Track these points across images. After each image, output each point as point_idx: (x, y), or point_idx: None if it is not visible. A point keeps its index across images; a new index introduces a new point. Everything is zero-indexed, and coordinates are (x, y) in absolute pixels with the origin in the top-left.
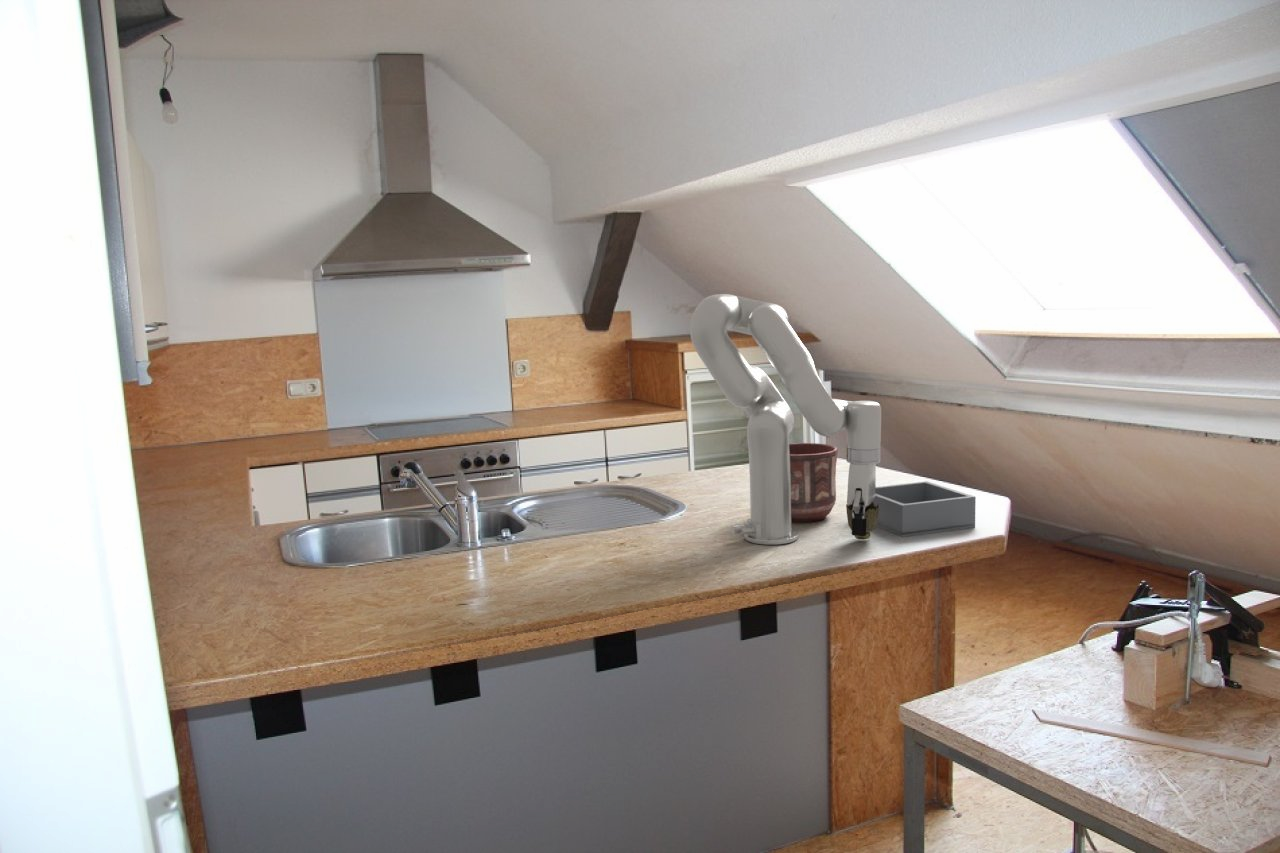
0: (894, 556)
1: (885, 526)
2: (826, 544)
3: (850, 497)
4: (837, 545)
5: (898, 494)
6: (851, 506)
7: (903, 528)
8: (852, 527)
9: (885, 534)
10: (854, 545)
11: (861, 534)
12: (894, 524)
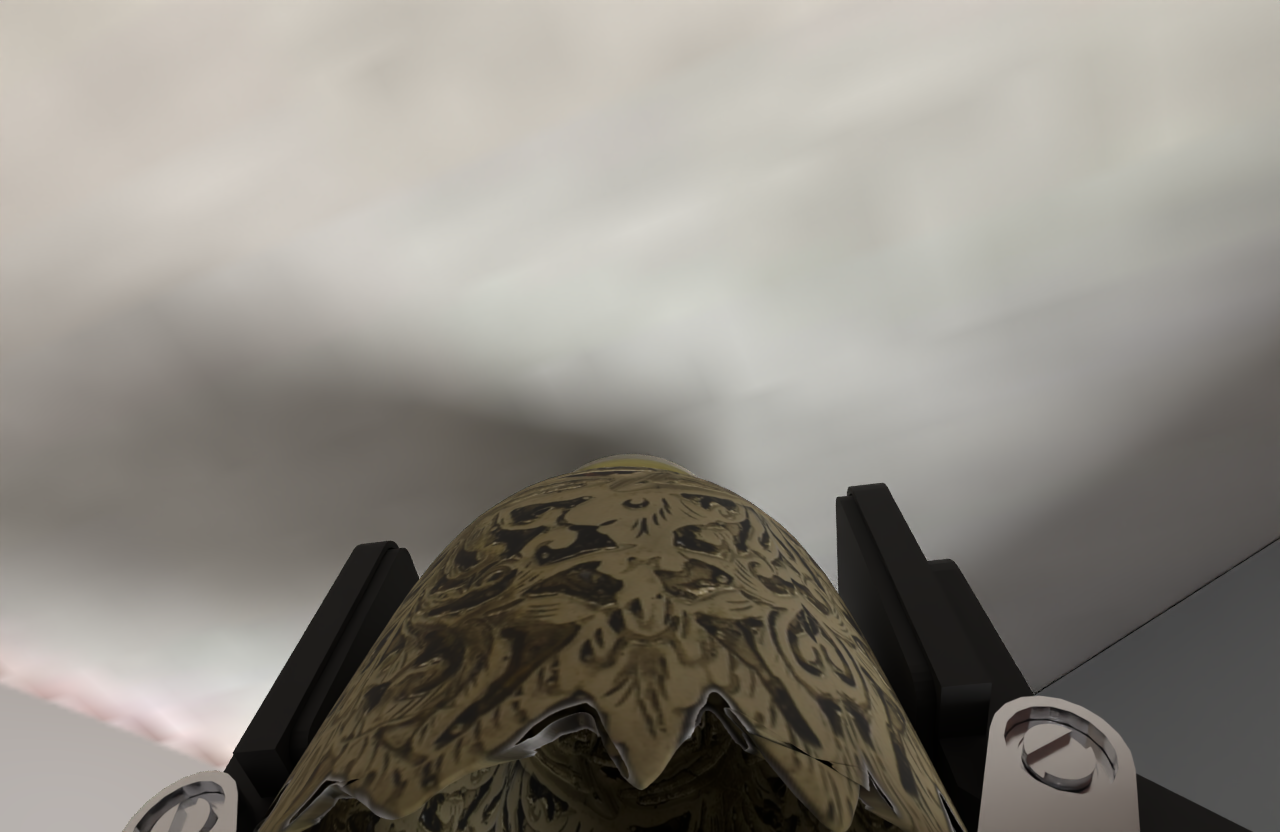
0: None
1: (1274, 586)
2: (296, 147)
3: None
4: (341, 301)
5: None
6: (774, 714)
7: None
8: (323, 619)
9: (1023, 608)
10: (454, 471)
11: None
12: (1139, 750)
